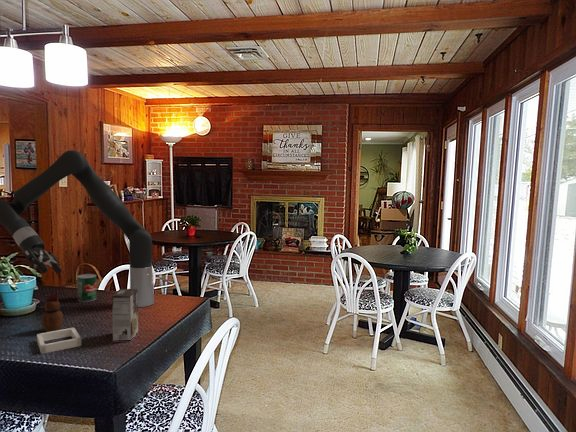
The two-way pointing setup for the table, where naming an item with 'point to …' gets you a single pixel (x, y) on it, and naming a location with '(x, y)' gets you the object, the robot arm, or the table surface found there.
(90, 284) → the canned tomato
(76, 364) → the table surface
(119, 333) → the coffee box
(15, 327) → the table surface
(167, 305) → the table surface
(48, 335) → the frame
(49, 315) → the wooden figurine
